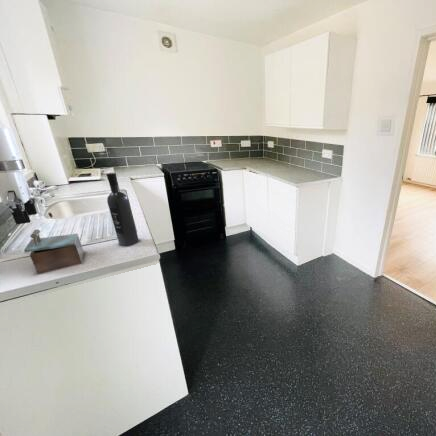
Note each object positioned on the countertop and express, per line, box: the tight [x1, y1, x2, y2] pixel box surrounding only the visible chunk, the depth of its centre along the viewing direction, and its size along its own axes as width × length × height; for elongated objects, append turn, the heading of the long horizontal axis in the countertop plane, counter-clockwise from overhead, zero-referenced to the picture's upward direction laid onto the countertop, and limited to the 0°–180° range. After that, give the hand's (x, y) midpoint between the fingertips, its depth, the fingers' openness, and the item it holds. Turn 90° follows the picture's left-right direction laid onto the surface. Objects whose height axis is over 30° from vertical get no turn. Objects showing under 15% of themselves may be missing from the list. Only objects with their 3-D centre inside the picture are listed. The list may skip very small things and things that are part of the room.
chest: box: [29, 236, 85, 275], centre depth 88 cm, size 12×11×8 cm
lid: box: [23, 229, 79, 253], centre depth 85 cm, size 12×11×5 cm
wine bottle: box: [105, 172, 140, 247], centre depth 98 cm, size 6×6×30 cm
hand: (27, 218), depth 81 cm, fingers open, 9 cm apart
